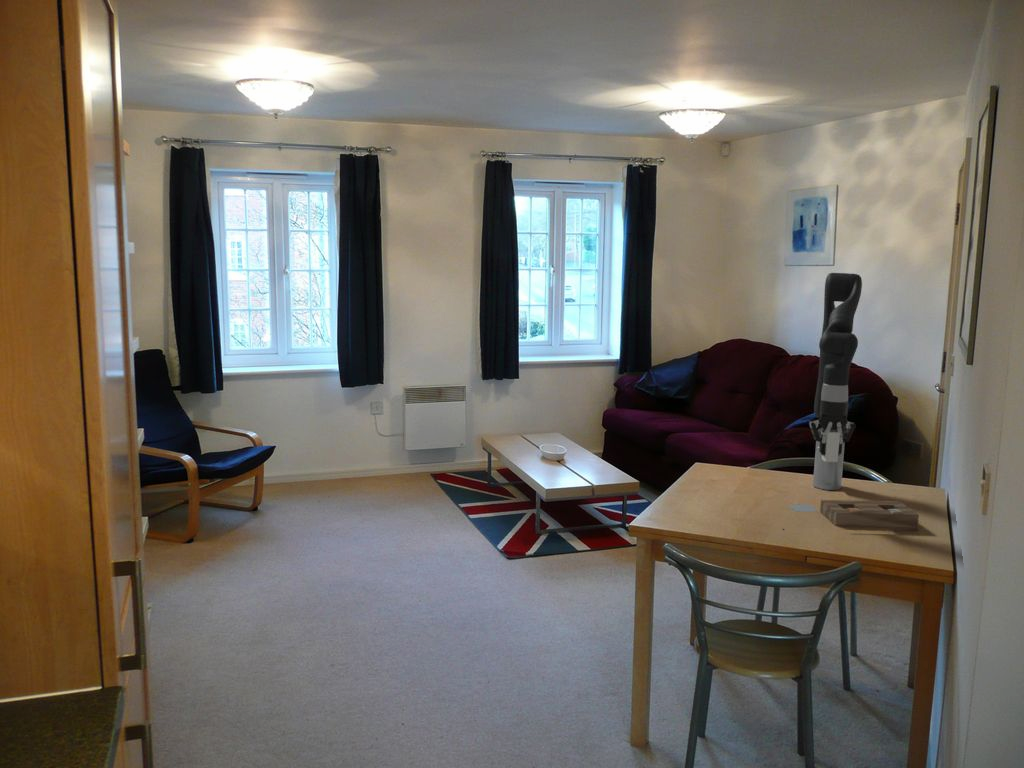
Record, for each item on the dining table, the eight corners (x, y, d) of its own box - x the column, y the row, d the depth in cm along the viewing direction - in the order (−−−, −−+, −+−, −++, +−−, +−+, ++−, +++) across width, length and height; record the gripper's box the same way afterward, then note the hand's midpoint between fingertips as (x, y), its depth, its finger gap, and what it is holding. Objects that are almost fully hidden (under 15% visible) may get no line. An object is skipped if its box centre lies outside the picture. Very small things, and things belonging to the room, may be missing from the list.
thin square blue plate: (788, 507, 270) (788, 504, 269) (810, 508, 270) (810, 505, 269) (794, 514, 263) (795, 511, 263) (817, 514, 263) (817, 511, 262)
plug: (821, 458, 259) (823, 427, 258) (833, 459, 259) (836, 428, 258) (825, 461, 256) (827, 430, 254) (837, 462, 255) (840, 430, 254)
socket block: (819, 515, 262) (821, 498, 261) (898, 517, 262) (899, 500, 261) (834, 529, 249) (836, 511, 248) (917, 530, 249) (918, 513, 248)
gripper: (853, 397, 258) (849, 453, 260) (806, 396, 259) (802, 451, 261) (862, 401, 251) (858, 458, 253) (814, 400, 251) (810, 457, 254)
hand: (830, 454), depth 257 cm, fingers closed on plug, 3 cm apart
